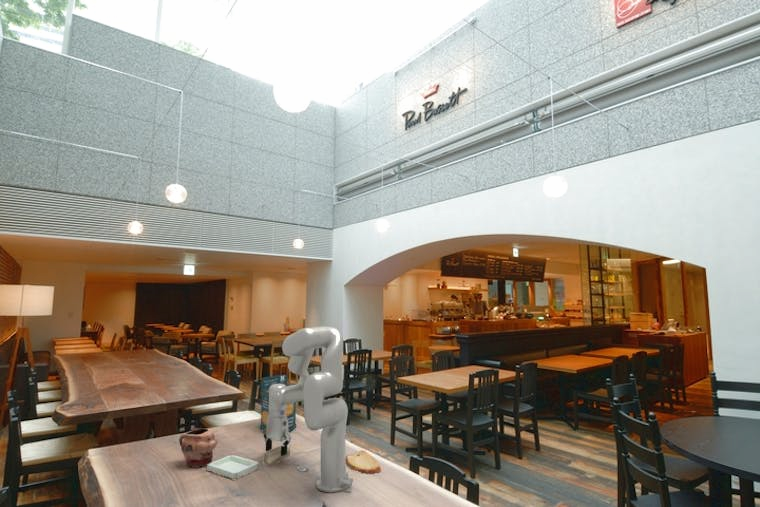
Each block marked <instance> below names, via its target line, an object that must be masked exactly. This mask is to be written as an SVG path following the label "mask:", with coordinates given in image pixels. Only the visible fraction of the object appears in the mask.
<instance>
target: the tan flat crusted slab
mask: <svg viewBox="0 0 760 507" xmlns="http://www.w3.org/2000/svg"><path fill="white" fill-rule="evenodd" d="M346 467H348V468H349V469H350V468H351V470H352V469H353V470H352V471H354V470H355V471H354V472H356V471H358V472H357V473H359V472H361V473H360V474H364V473H365V474H366V475H374V474H375V473H377V474H380V473H382V469H381V466H380V464H379V462H378V460H376V458H375V457H374V456H372V455H371V454H370V453H368V452H367V451H366V450H361V451H358V452H355V453H353V454H347V455H346ZM365 474H364V475H365ZM375 475H376V474H375Z"/></svg>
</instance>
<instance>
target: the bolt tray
mask: <svg viewBox="0 0 760 507" xmlns="http://www.w3.org/2000/svg"><path fill="white" fill-rule="evenodd" d="M260 465H261V464H260V462H259V461H256V460H252V459H249V458H245V457H241V456H238V455H234V454H230V455H227V456H225V457H222V458H219V459H217V460H214V461H211V463H209V464H207V465H206V470H207V469H208V470H211V471H214V472H216V473H219V474H221V475H224V476H226V477H230V478H233V479H236V478H238V477H240V476H243V475H245V474H247V473H250V472H252V471H254V472H256V471H258V470H260V469H259V468H260V467H261V466H260ZM257 469H258V470H257ZM255 470H256V471H255ZM252 473H253V472H252ZM250 474H251V473H250ZM221 475H220V476H221ZM247 475H248V474H247ZM224 476H223V477H224ZM245 476H246V475H245ZM226 477H225V478H226ZM243 477H244V476H243Z"/></svg>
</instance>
